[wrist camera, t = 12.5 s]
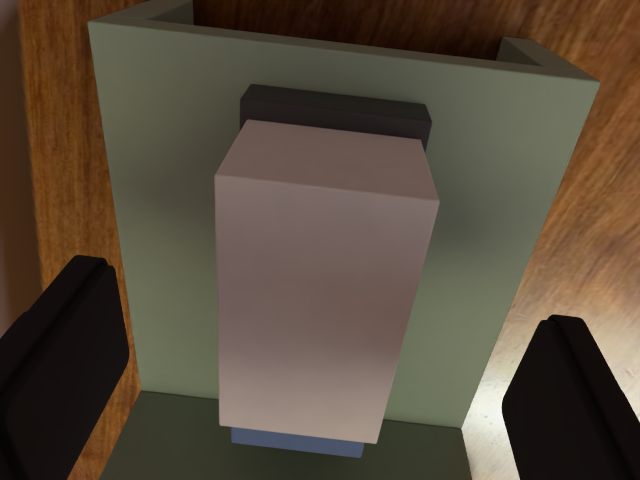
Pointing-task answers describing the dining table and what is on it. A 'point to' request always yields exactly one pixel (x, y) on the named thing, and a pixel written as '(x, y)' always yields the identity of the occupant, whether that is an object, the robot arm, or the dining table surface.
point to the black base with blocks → (318, 264)
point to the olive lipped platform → (200, 238)
